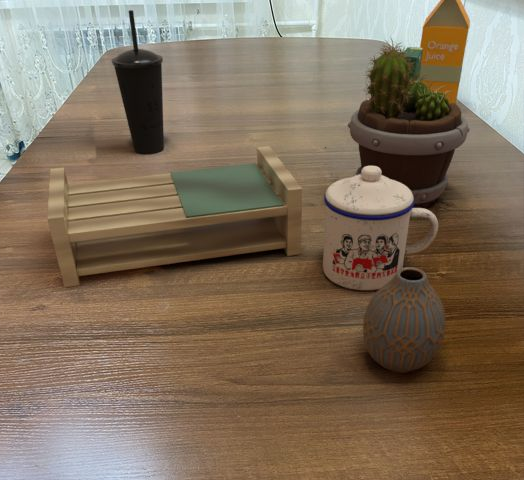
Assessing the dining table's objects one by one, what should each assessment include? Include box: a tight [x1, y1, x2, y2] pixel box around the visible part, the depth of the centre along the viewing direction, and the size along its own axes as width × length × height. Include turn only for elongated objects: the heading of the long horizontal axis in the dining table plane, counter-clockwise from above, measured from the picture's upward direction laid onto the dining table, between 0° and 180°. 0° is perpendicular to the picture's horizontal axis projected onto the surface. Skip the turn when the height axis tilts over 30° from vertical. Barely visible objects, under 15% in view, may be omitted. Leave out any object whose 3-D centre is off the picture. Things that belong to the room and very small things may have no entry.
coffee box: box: [402, 46, 423, 81], centre depth 99 cm, size 8×3×13 cm, turn 160°
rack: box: [46, 145, 303, 288], centre depth 71 cm, size 14×27×8 cm, turn 104°
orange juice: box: [419, 0, 471, 105], centre depth 108 cm, size 8×9×20 cm
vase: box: [362, 266, 447, 373], centre depth 52 cm, size 7×7×9 cm
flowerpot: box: [347, 36, 470, 209], centre depth 77 cm, size 14×15×20 cm
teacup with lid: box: [322, 166, 439, 291], centre depth 63 cm, size 12×9×12 cm
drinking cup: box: [110, 9, 165, 155], centre depth 93 cm, size 8×8×20 cm
